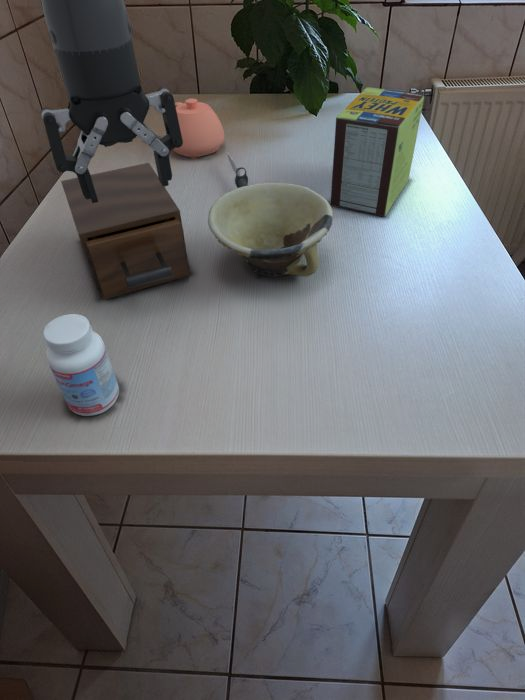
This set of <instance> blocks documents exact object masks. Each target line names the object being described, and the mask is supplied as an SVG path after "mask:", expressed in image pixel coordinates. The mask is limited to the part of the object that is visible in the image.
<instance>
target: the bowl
mask: <svg viewBox="0 0 525 700" xmlns="http://www.w3.org/2000/svg"><path fill="white" fill-rule="evenodd" d="M333 219H334V212H333V209H332V205H330V202H328V201H327V200H326V198H325V197H324V196H323V195H321V194H320V193H318V192H316V191H314V190H313V189H311V188H309V187H306V186H303V185H299V184H295V183H284V182H261V183H254V184H248V186H244V187H240V188H237V187H236V188H234V189H232V190H229V191H228V192H226V193H223V195H221V196H220V197H218V198H217V200H215V201H214V203H213V204H212V205H211V206H210V208H209V211H208V216H207V224H208V227H209V230H210V232H211V233H212V234H213V236H214V238H215V239H216V240H217V242H218V243H219V244H221V245H222V246H224V247H226V248H227V249H229V250H232V251H234V252H235V253H236V254H237V255H239V256H240V257H241V258H242V259H244V260H245V261H246V262H247V265H248V267H249V268H250V269H251V271H252V272H254V273H256V274H258V275H262V276H265V277H271V278H272V277H283V276H286V275H292V276H296V277H310V276H313V275H314V274H315V273H316V272H317V270H318V268H319V265H320V259H319V258H320V257H319V252H318V244H319V243H321V241H322V240H323V238H324V237H325V236H326V235H327V234H328V232H329V231H330V229H331V227H332V225H333ZM303 256H304V258H305V260H306V264H303V263H301V260H302V258H303Z"/></svg>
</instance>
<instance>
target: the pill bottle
mask: <svg viewBox="0 0 525 700" xmlns="http://www.w3.org/2000/svg"><path fill="white" fill-rule="evenodd" d="M42 335H43V338H44V340H45V343H46V346H47V349H46V353H45V359H46V362H47V364H48V366H49V369H50V371H51V373H52V375H53V378H54V379H55V382H56V383H57V385H58V388H59V390H60V392H61V394H62V396H63V398H64V400H65V403H66V404H67V406H68V408H69V409H70V411H71V412H73V413H74V414H76V415H77V416H78V415H79V416H82V417H92V416H98V415H101V414H102V413H104V412H106V411H108V410H109V409H111V407H113V405H114V404H115V403H116V401H117V399H118V397H119V394H120V385H119V383H118V380H117V377H116V375H115V372H114V369H113V366H112V362H111V360H110V357H109V354H108V350H107V348H106V346H105V343H104V340H103V339H102V337H101V335H99V334H98V333H97V332H96V331H93V327H92V326H91V323H90V321H89V319H88V318H87V317H86V316H84V315H81V314H78V313H69V314H63V315H60V316H58V317H55V318H54V319H52V320H51V321H50V322H48V323H47V324H46V325H45V327H44V329H43V334H42Z"/></svg>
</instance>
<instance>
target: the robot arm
mask: <svg viewBox="0 0 525 700" xmlns="http://www.w3.org/2000/svg"><path fill="white" fill-rule="evenodd" d="M40 1H41V6H42V12H43V15H44V19H45V23H46V26H47V29H48V35H49V39H50V42H51V43H52V47H53V50H54V54H55V57H56V61H57V63H58V67H59V70H60V74H61V78H62V80H63V83H64V87H65V90H66V94H67V98H68V105H67V108H60V109H51V108H50V107H46V106H45V107H43V108H42V109H41V111H40V114H41V115H40V116H41V118H42V123H43V126H44V129H45V132H46V137H47V140H48V143H49V148H50V151H51V154H52V158H53V160H54V165H55V168H56V170H57V171H58V172H60V173H66V172H71V173H74V174H75V175H76V178H78V180H79V184H80V187H81V190H82V193H83V195H84V197H85V198H86V199H91V201H92V203H96V202H98V199H97V196H96V192H95V189H94V185H93V182H92V179H91V175H92V174H91V173H90V170H89V165H90V162H91V160H92V158H94V156H95V155H96V152H97V151H98V148H99V145H100V146H104V147H105V148H108V147H113V146H115V145H117V144H118V143H122V144H127V143H132V142H133V140H134V139H135V138H137V137H138V138H139V139H141V141H142V142H144V143H145V144H146V145H147V146H149V147H150V148H151V149H153V156H154V157H153V158H154V163H155V167H156V172H157V173H156V174H157V176H158V178H159V181H160V183H161V185H162V186H163V187H168V186H169V184H170V183H169V181H172V179H173V171H172V165H171V159H170V153H171V151H172V150H173V149H174V148H179V147H181V146H182V144H183V140H182V135H181V130H180V126H179V121H178V116H177V111H176V107H175V103H176V102H175V98H174V96H173V94H172V93H171V92H170V91H169V89H168V88H167V87H165V86H159V87H158V89H157V91H155V92H151V93H150V92H149V93H147V94H145V93H144V91H143V88H142V84H141V78H140V73H139V68H138V63H137V58H136V53H135V48H134V47H135V46H134V43H133V37H132V25H131V21H130V20H129V19H130V18H129V17H128V12H127V7H126V2H125V0H40ZM150 107H153V108H154V110H155V111H156V112H157V113H158V114H159V115H161V116H162V120H163V125H164V129H165V133H166V134H165V135H163V136H162V137H159V135H157V134H156V133H155V132H154V131H153V130H152V129H151V128H150V126H148V125H147V124H146V122H145V119H146V117H147V114H148V113H149V110H150ZM70 121H71V123H72V124H73V125H75V126H76V127H77V128H78V129H79V130H80V134H79V136H78V139H77V144H76V147H75V149H74V152H73V154H72V155H67V154H65V149H64V146H63V142H62V137H61V134H64V133H65V132H66V129H67V123H68V122H70ZM173 151H174V150H173Z"/></svg>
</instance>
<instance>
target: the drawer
mask: <svg viewBox="0 0 525 700" xmlns="http://www.w3.org/2000/svg"><path fill="white" fill-rule="evenodd" d="M86 244H87V247H88V250H89V253H90V256H91V259H92V262H93V265H94V268H95V271H96V274H97V277H98V280H99V283H100V286H101V289H102V293H103V296H104V298H103V299H104V300H107V299H110V298H115V297H118V296H121V295H124V294H128V293H132V292H136V291H139V290H142V289H147V288H151V287H153V286H157V285H160V284H164V283H167V282H172V281H176V280H179V279H182V278H187V277H189V276H190V274H189V273H188V267H187V261H186V255H185V249H184V243H183V237H182V231H181V225H180V222H179V220H178V219H177V220H172V221H170V218H169V219H165V220H161V221H157V222H153V223H149V224H144V225H140V226H136V227H132V228H128V229H124V230H120V231H116V232H111V233H107V234H103V235H99V236H95V237H91V238H90V241H87V242H86Z"/></svg>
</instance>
